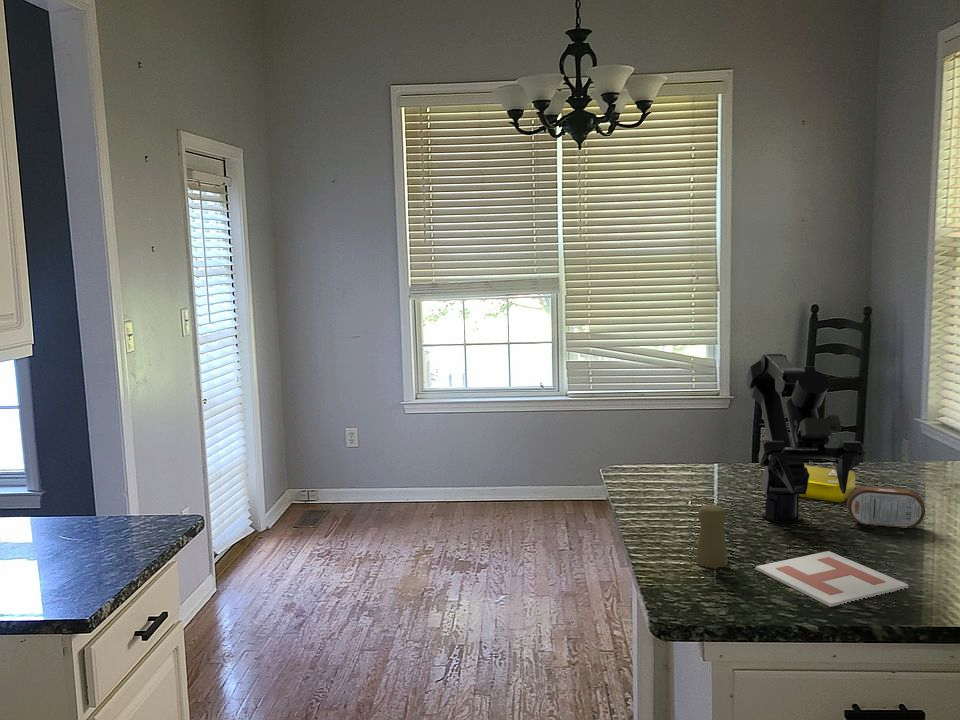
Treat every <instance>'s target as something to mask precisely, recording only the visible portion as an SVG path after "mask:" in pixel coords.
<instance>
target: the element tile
mask: <svg viewBox="0 0 960 720" xmlns="http://www.w3.org/2000/svg"><path fill="white" fill-rule="evenodd" d="M805 467H806V468H807V470H808V473H809V474H810V476H809V480H808V486H807V491H806V495H803V494H799V497H801V498H809V499H815V500H820V501H821V500H822V501H827V502H834V503H837V502H838V503H841V502H845V501H846V500H847V498H848V496H849V494H850V493H851V492H852V491H853V490H854V489H856V488H855V487H856V474H855V472H853V471H849V474H848V480H847V487H846V492H845V494H842V492H841V490H840V486H839V481H838V477H837V472H836V468H835V469H834V468H833V469H832V468H826V467H821V466H814V465H813V466H810V465H805Z"/></svg>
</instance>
